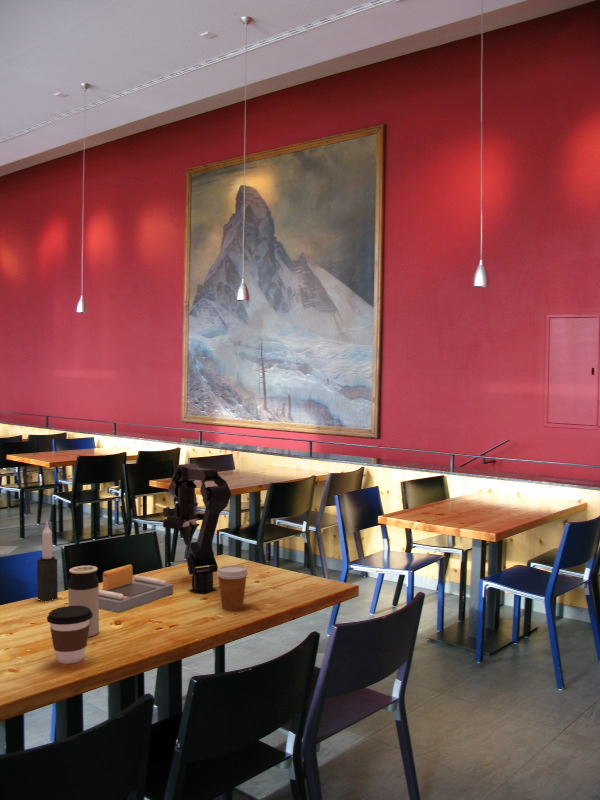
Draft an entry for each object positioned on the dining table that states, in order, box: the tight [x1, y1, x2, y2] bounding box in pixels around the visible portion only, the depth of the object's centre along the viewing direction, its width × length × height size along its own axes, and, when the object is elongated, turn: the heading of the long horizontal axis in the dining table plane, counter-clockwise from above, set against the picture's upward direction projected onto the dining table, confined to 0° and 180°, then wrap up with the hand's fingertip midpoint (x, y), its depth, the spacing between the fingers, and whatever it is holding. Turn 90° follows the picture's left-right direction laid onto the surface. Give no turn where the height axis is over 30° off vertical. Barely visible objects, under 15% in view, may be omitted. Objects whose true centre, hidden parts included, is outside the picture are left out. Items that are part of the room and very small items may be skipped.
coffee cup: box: [46, 605, 93, 665], centre depth 184 cm, size 11×11×12 cm
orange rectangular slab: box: [102, 564, 134, 590], centre depth 240 cm, size 2×11×6 cm, turn 148°
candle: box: [36, 521, 59, 602], centre depth 237 cm, size 5×5×25 cm
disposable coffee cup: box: [216, 565, 249, 611], centre depth 227 cm, size 10×10×12 cm
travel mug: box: [67, 565, 100, 638], centre depth 203 cm, size 8×8×18 cm
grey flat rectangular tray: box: [99, 574, 174, 613], centre depth 237 cm, size 16×24×5 cm, turn 148°
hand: (187, 544), depth 258 cm, fingers closed
